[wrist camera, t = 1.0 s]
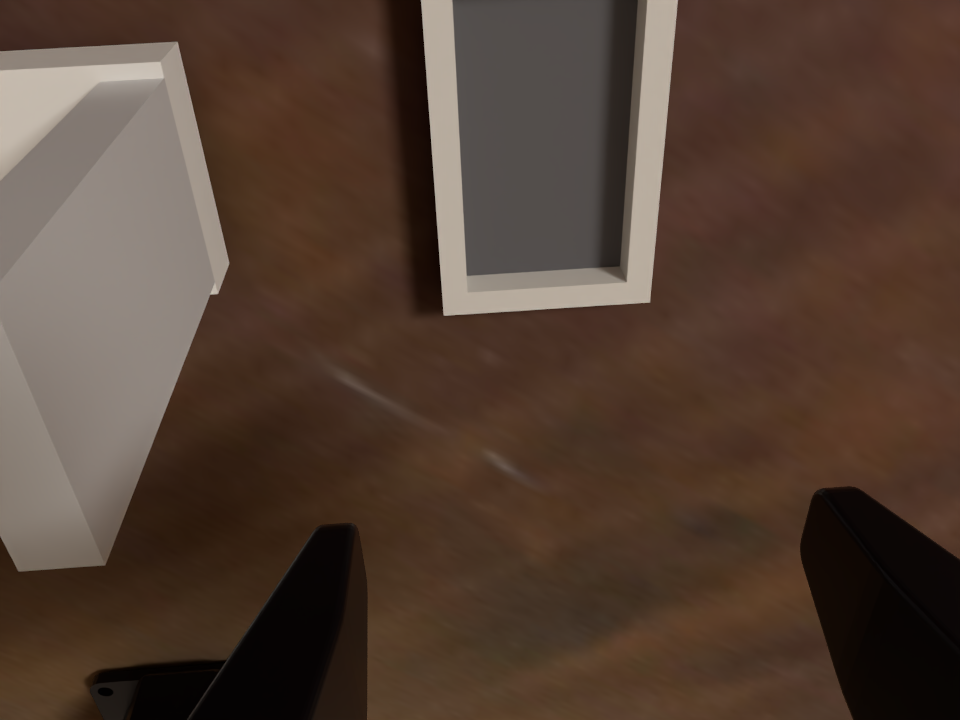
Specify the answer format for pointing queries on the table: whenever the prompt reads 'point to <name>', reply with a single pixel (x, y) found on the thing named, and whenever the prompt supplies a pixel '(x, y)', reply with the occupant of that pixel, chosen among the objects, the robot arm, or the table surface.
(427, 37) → the tray
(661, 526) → the table surface
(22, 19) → the table surface
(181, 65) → the white l-shaped base
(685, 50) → the table surface
